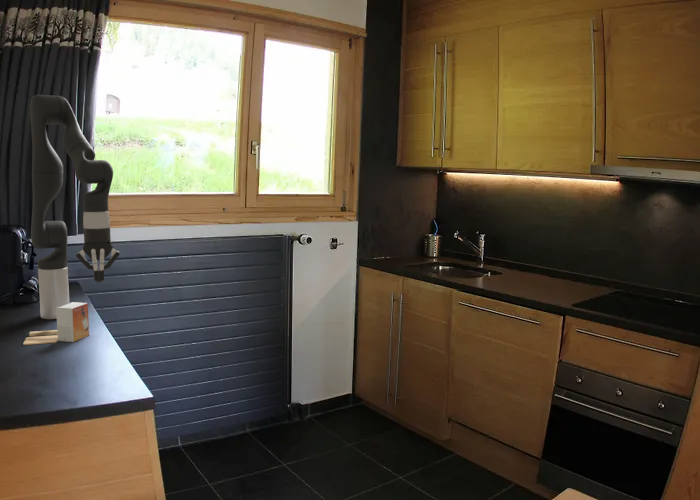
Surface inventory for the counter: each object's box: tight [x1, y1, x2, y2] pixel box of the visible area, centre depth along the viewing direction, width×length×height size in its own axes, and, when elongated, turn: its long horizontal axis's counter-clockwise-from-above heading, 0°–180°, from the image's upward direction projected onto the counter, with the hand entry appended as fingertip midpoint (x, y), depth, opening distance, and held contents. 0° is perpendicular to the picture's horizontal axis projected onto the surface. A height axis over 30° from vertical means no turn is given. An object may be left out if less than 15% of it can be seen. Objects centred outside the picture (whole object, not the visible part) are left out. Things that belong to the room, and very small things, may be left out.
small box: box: [56, 301, 90, 343], centre depth 191 cm, size 8×6×10 cm
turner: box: [28, 329, 58, 337], centre depth 196 cm, size 14×5×1 cm, turn 112°
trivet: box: [22, 334, 58, 346], centre depth 189 cm, size 7×9×1 cm
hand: (99, 282), depth 192 cm, fingers closed
